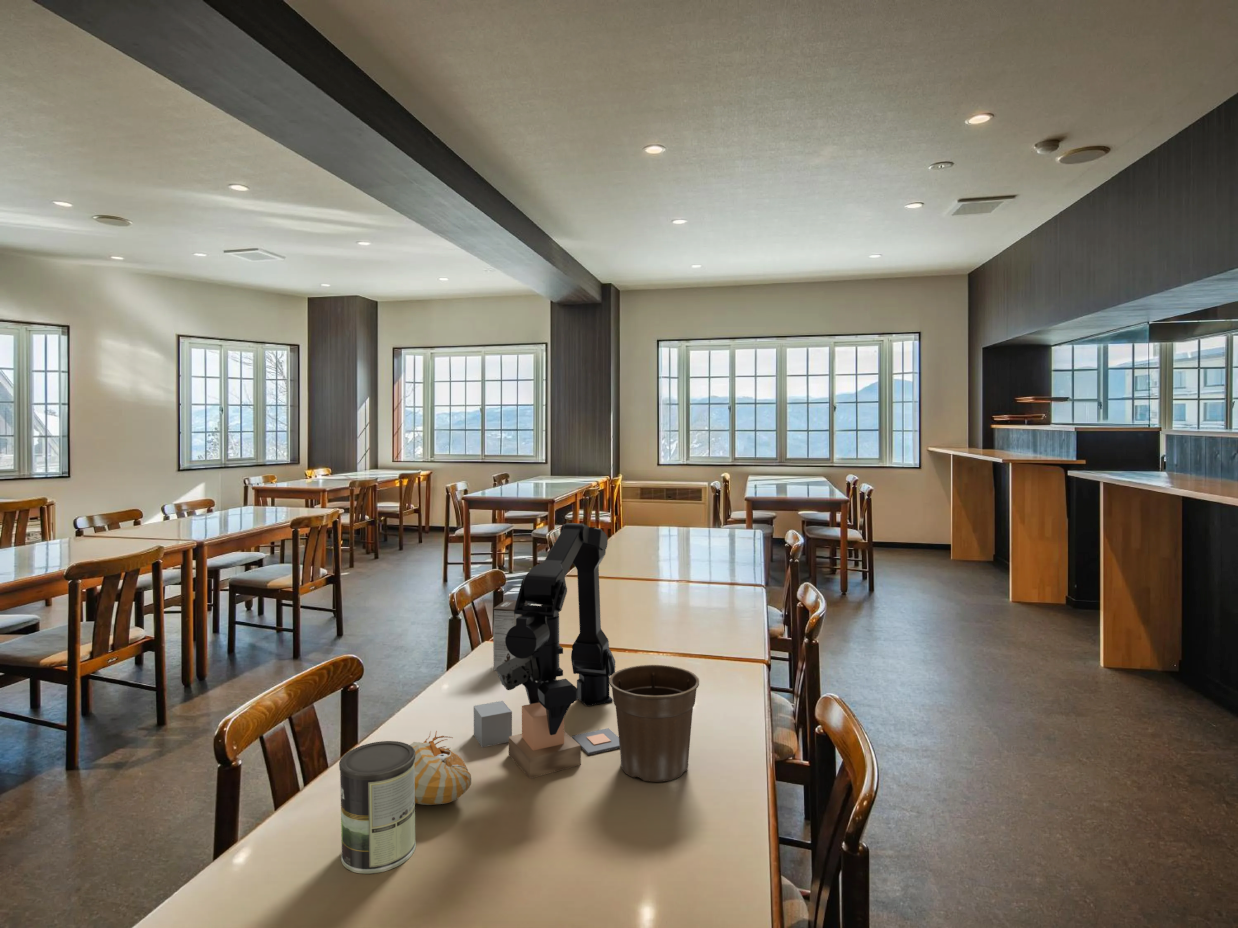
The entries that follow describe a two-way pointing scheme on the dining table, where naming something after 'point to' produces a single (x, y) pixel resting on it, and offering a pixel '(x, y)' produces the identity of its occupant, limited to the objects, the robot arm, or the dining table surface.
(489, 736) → the slate grey cube
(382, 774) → the coffee can
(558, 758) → the tan block
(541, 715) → the terracotta cube
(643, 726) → the plant pot
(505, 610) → the coffee box
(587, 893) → the dining table surface
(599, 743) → the card
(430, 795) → the nautilus
